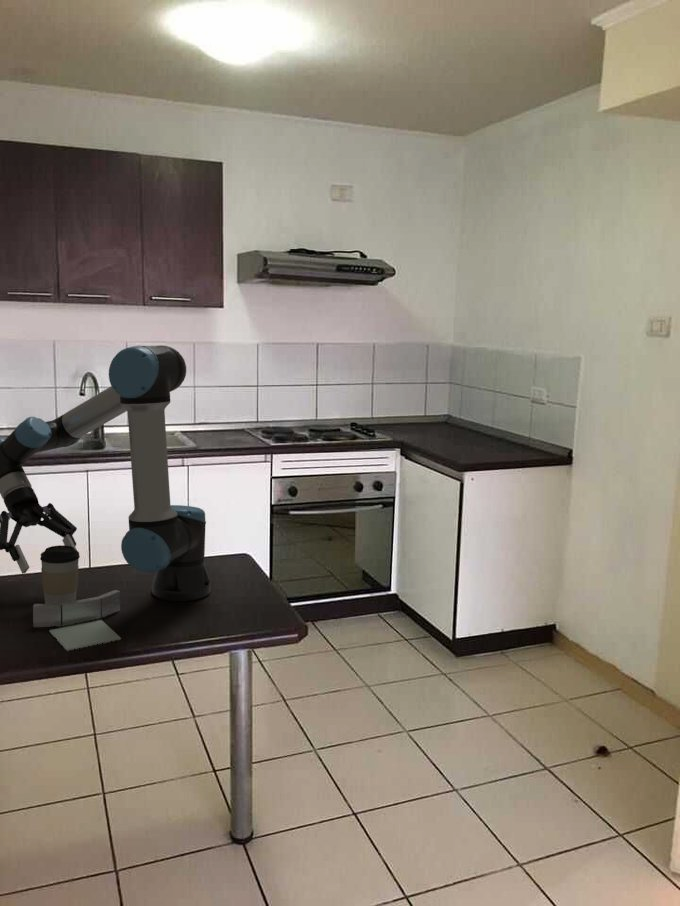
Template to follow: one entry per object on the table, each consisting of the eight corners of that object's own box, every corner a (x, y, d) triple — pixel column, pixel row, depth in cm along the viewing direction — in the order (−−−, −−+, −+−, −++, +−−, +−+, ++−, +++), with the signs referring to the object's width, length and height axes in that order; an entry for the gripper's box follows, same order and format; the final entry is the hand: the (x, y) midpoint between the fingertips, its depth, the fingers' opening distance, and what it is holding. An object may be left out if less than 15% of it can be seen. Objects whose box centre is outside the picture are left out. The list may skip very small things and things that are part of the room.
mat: (101, 621, 181) (101, 619, 181) (120, 639, 171) (120, 637, 171) (49, 631, 173) (49, 630, 173) (66, 651, 164) (66, 649, 164)
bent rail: (117, 608, 189) (117, 589, 188) (124, 614, 186) (124, 594, 185) (31, 625, 176) (31, 604, 176) (36, 631, 173) (36, 610, 172)
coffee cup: (47, 599, 193) (46, 541, 190) (84, 600, 193) (83, 542, 191) (35, 612, 184) (34, 552, 181) (74, 613, 184) (74, 553, 182)
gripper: (56, 495, 206) (89, 561, 200) (-36, 509, 187) (-3, 583, 180) (67, 479, 202) (101, 546, 196) (-26, 492, 183) (9, 567, 176)
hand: (51, 564), depth 188 cm, fingers open, 13 cm apart
